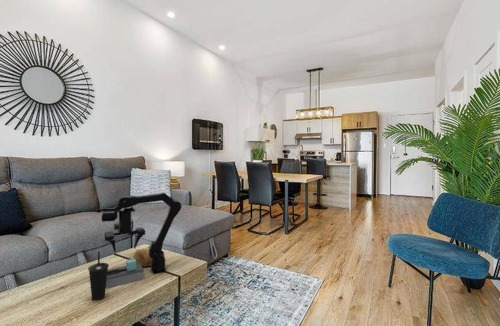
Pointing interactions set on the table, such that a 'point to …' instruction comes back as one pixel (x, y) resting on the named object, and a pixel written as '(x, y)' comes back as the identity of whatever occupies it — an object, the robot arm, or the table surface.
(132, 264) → the peg
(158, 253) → the robot arm
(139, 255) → the bread roll
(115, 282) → the keyhole plate
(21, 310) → the table surface
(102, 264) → the drinking cup
